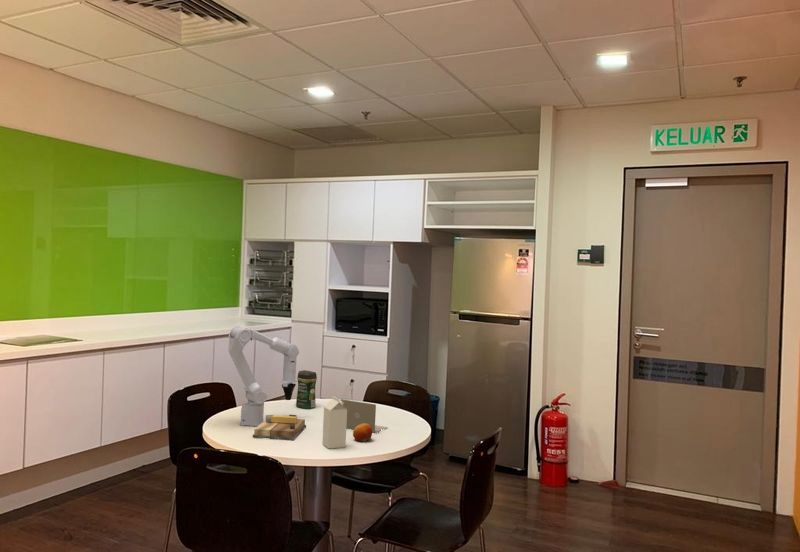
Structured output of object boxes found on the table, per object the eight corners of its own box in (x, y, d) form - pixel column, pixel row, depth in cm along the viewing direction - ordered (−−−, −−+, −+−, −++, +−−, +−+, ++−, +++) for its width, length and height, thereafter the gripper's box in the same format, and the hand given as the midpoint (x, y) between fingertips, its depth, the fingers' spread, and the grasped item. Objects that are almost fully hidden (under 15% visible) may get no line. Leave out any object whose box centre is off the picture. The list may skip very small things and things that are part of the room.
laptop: (388, 429, 265) (389, 400, 265) (374, 434, 253) (375, 404, 254) (353, 423, 273) (355, 394, 273) (339, 428, 262) (340, 399, 262)
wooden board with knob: (252, 437, 239) (253, 421, 239) (268, 424, 261) (268, 410, 261) (293, 440, 238) (294, 424, 238) (305, 427, 260) (306, 412, 260)
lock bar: (264, 422, 250) (264, 416, 250) (266, 420, 253) (266, 414, 253) (295, 423, 250) (295, 418, 250) (296, 421, 253) (297, 416, 253)
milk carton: (328, 449, 228) (330, 400, 228) (322, 444, 234) (324, 396, 234) (345, 447, 231) (347, 399, 231) (338, 442, 237) (341, 395, 238)
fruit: (368, 441, 236) (361, 422, 239) (354, 448, 240) (347, 429, 242) (380, 437, 243) (372, 419, 246) (366, 444, 247) (358, 426, 249)
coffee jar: (293, 407, 299) (294, 370, 299) (304, 404, 305) (305, 368, 305) (307, 410, 293) (309, 372, 293) (318, 407, 300) (319, 371, 300)
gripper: (294, 373, 263) (292, 403, 263) (301, 368, 278) (300, 397, 277) (278, 372, 264) (277, 402, 263) (287, 367, 278) (285, 396, 278)
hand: (288, 399), depth 270 cm, fingers closed
